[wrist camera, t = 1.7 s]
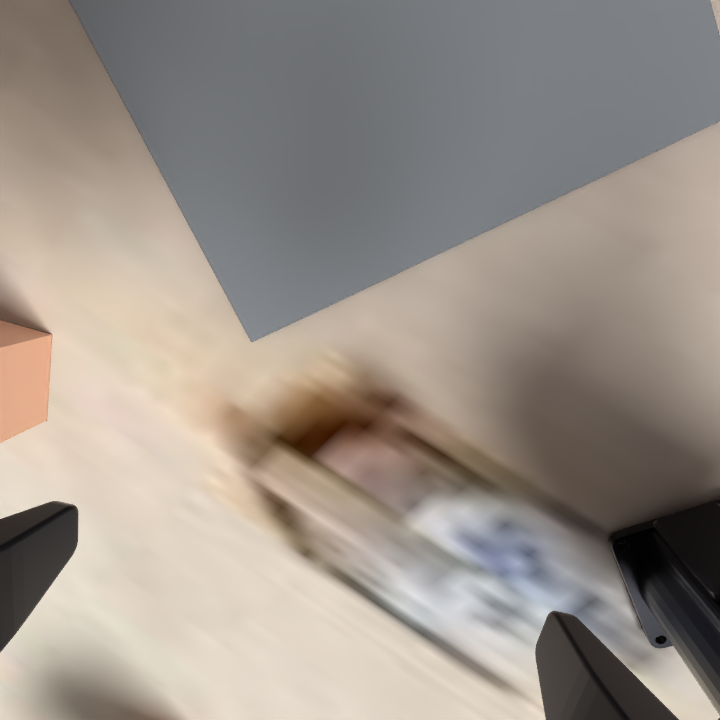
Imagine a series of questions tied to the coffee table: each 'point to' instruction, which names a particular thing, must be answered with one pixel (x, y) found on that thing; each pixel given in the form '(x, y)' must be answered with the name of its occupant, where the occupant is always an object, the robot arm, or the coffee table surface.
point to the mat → (390, 122)
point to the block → (23, 378)
